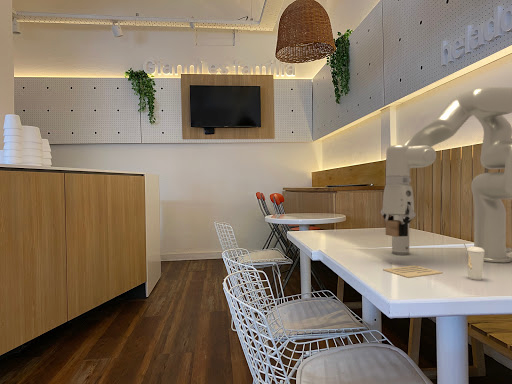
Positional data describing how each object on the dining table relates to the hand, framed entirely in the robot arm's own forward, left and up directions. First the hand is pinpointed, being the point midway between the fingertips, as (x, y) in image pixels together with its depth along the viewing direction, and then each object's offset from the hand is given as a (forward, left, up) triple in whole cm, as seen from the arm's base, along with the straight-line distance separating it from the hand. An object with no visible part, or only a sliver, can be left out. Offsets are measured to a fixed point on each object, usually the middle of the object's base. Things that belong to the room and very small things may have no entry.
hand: (396, 234), depth 115 cm
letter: (+4, +10, -10) cm, 15 cm away
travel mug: (-15, -13, -10) cm, 23 cm away
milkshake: (-6, +23, -10) cm, 26 cm away
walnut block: (0, 0, 0) cm, 0 cm away
